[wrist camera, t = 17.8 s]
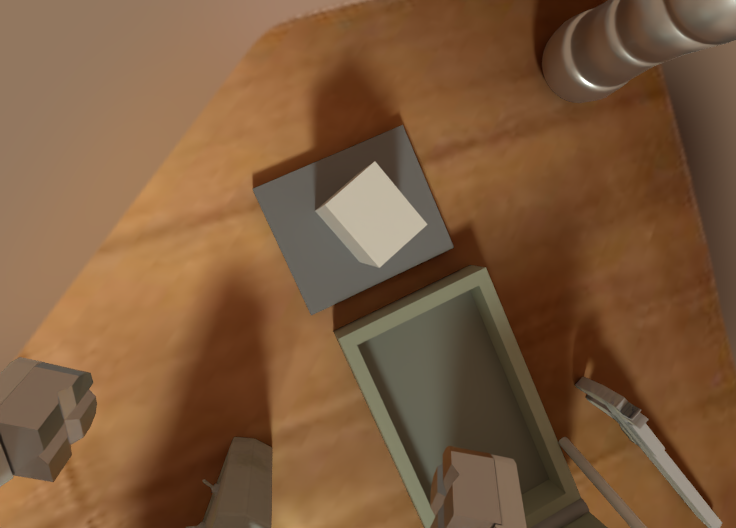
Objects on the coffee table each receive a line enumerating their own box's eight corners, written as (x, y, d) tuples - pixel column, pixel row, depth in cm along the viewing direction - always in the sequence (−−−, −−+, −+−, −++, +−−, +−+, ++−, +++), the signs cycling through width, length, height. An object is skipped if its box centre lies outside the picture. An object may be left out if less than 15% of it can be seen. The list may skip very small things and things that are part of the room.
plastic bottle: (613, 98, 42) (914, -24, 22) (541, 118, 41) (790, 8, 21) (596, 20, 41) (890, -177, 22) (521, 38, 40) (760, -153, 21)
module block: (359, 262, 38) (379, 267, 31) (315, 210, 37) (324, 204, 30) (400, 225, 38) (429, 222, 31) (357, 173, 37) (376, 159, 30)
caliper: (569, 383, 43) (620, 407, 37) (578, 373, 43) (629, 396, 37) (709, 531, 46) (776, 576, 40) (717, 521, 46) (785, 565, 40)
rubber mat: (310, 313, 38) (311, 315, 37) (252, 190, 37) (252, 188, 36) (449, 247, 40) (454, 247, 39) (399, 127, 39) (402, 124, 38)
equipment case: (444, 572, 41) (616, 905, 21) (333, 331, 39) (404, 438, 18) (576, 495, 43) (854, 731, 23) (478, 260, 40) (694, 285, 20)
